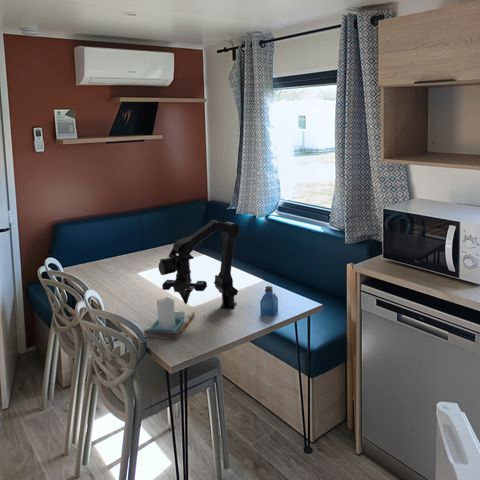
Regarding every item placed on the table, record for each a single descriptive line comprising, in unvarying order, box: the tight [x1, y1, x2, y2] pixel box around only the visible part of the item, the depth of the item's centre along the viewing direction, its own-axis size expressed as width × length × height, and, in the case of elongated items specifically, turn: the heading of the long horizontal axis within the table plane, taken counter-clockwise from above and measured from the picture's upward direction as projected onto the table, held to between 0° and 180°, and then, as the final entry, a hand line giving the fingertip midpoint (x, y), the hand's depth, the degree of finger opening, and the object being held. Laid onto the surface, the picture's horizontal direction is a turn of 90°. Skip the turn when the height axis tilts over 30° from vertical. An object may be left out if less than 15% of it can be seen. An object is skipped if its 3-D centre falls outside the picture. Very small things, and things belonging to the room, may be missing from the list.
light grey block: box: [156, 296, 176, 329], centre depth 211 cm, size 5×5×12 cm
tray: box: [148, 310, 188, 331], centre depth 215 cm, size 17×11×4 cm, turn 168°
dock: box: [144, 311, 196, 341], centre depth 216 cm, size 24×14×3 cm, turn 168°
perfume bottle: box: [259, 285, 279, 317], centre depth 226 cm, size 6×6×12 cm
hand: (186, 303), depth 224 cm, fingers closed
